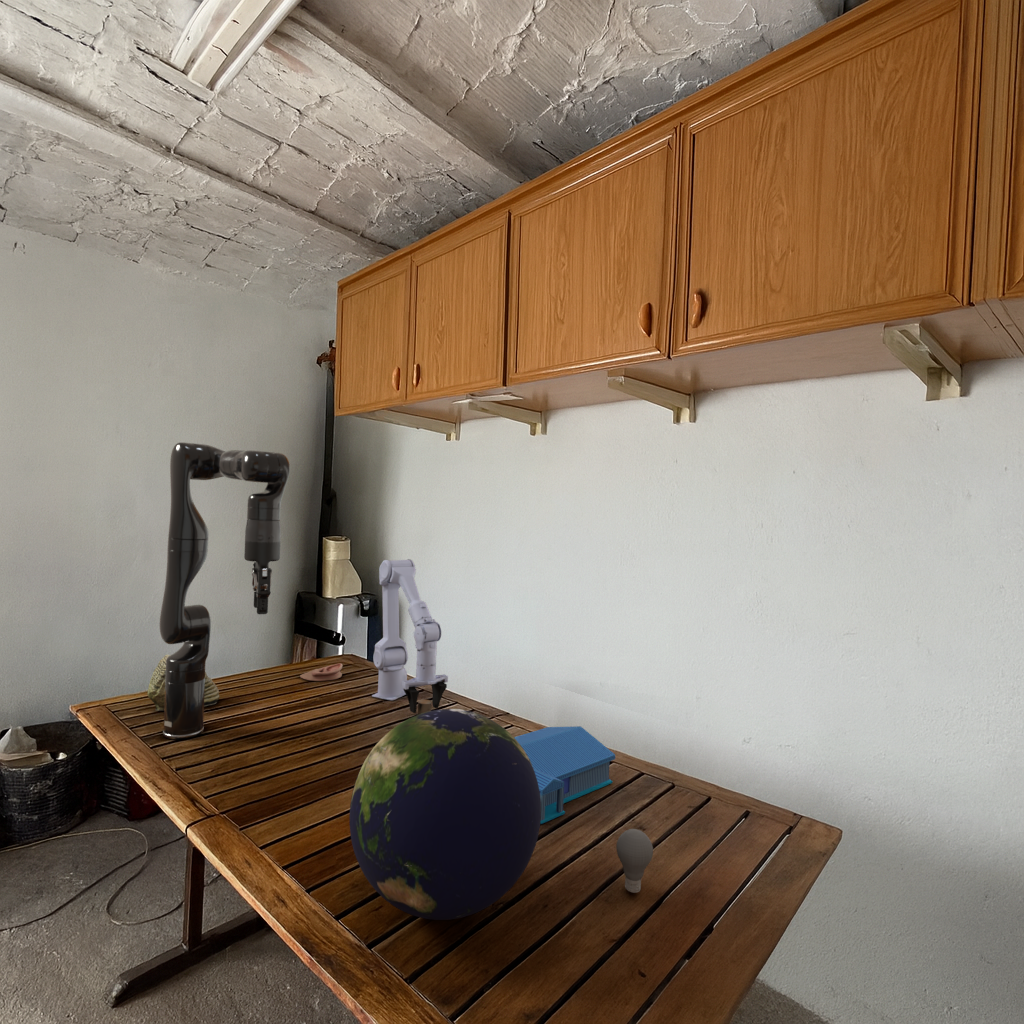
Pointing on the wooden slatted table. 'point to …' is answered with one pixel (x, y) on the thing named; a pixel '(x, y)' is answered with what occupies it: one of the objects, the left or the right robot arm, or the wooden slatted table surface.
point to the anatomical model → (324, 673)
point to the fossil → (158, 687)
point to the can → (424, 706)
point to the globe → (445, 814)
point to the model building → (565, 765)
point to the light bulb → (634, 857)
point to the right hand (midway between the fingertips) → (424, 709)
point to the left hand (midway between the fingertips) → (260, 610)
